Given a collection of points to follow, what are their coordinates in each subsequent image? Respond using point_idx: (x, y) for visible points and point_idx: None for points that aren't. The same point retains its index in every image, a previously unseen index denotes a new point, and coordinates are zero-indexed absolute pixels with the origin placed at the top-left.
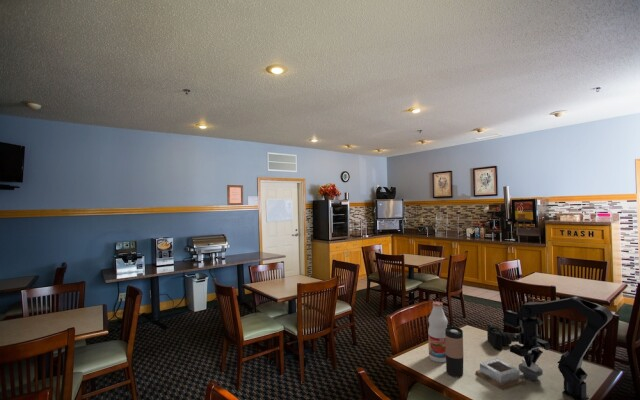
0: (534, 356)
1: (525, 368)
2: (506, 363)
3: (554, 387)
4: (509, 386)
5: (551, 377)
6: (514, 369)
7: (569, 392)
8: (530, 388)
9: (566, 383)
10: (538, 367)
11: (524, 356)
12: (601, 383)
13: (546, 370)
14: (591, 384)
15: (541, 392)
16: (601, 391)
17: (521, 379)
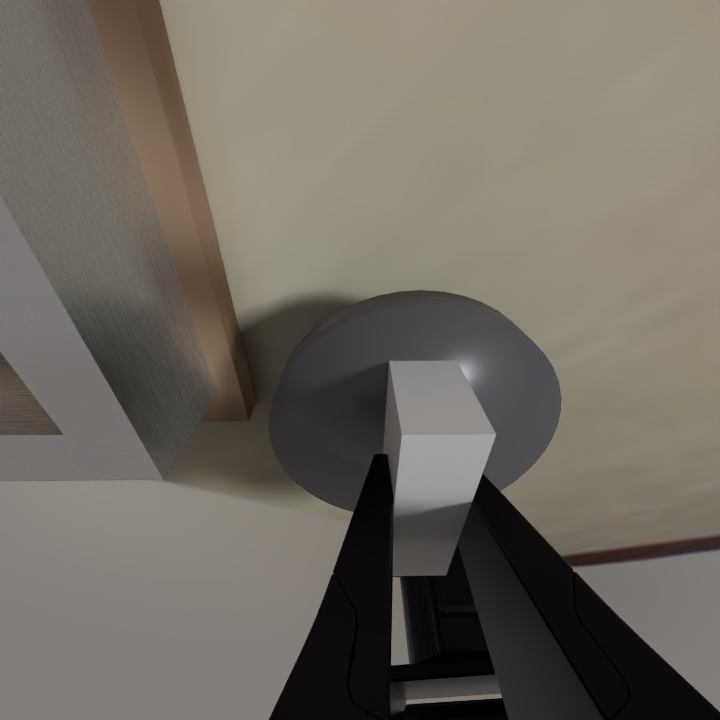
0: (525, 708)
1: (344, 423)
2: (32, 269)
3: None
4: None
5: (559, 423)
6: (90, 453)
7: None
8: (244, 453)
9: (427, 602)
10: (522, 459)
11: (304, 681)
12: (701, 537)
13: (691, 341)
14: (645, 528)
15: (280, 493)
16: (589, 560)
17: (231, 403)
